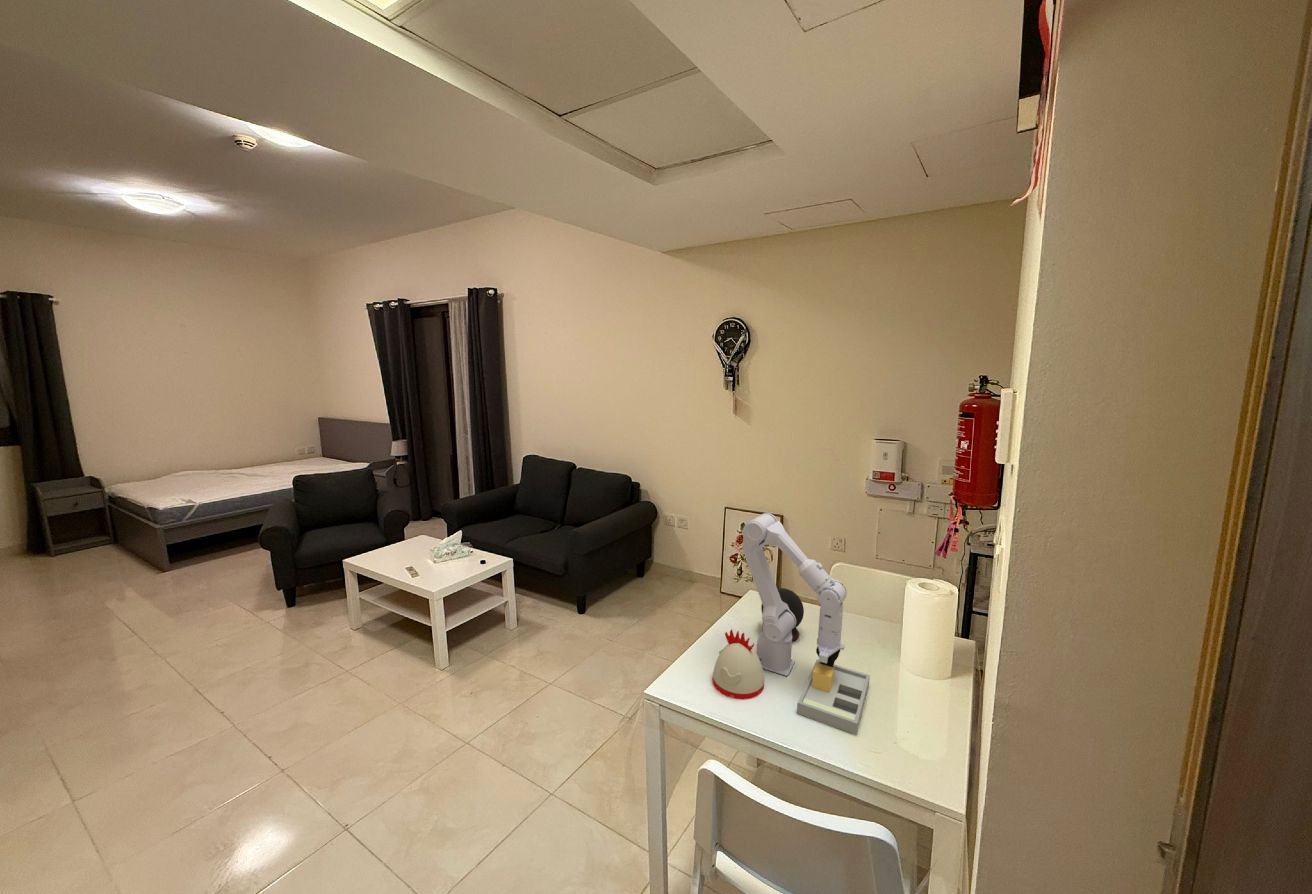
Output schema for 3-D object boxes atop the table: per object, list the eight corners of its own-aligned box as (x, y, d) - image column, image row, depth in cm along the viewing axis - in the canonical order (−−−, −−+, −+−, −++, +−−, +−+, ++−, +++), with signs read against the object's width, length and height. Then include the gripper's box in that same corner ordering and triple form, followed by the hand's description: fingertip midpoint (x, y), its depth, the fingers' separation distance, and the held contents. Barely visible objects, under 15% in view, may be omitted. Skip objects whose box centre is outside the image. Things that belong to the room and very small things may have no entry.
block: (811, 686, 131) (813, 671, 130) (815, 677, 134) (816, 662, 134) (829, 692, 128) (830, 677, 128) (833, 683, 132) (834, 667, 131)
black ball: (752, 626, 164) (754, 583, 161) (787, 620, 168) (790, 578, 165) (773, 648, 151) (776, 602, 149) (810, 641, 155) (813, 596, 153)
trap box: (796, 713, 124) (797, 702, 123) (816, 668, 141) (816, 659, 141) (856, 735, 117) (857, 723, 116) (868, 685, 135) (869, 675, 134)
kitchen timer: (724, 661, 145) (726, 613, 142) (770, 676, 138) (773, 627, 135) (704, 688, 133) (705, 636, 130) (753, 706, 126) (756, 652, 124)
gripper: (840, 644, 124) (837, 693, 126) (850, 618, 136) (846, 663, 138) (812, 636, 127) (808, 684, 130) (824, 611, 139) (820, 655, 142)
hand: (826, 672), depth 134 cm, fingers closed
